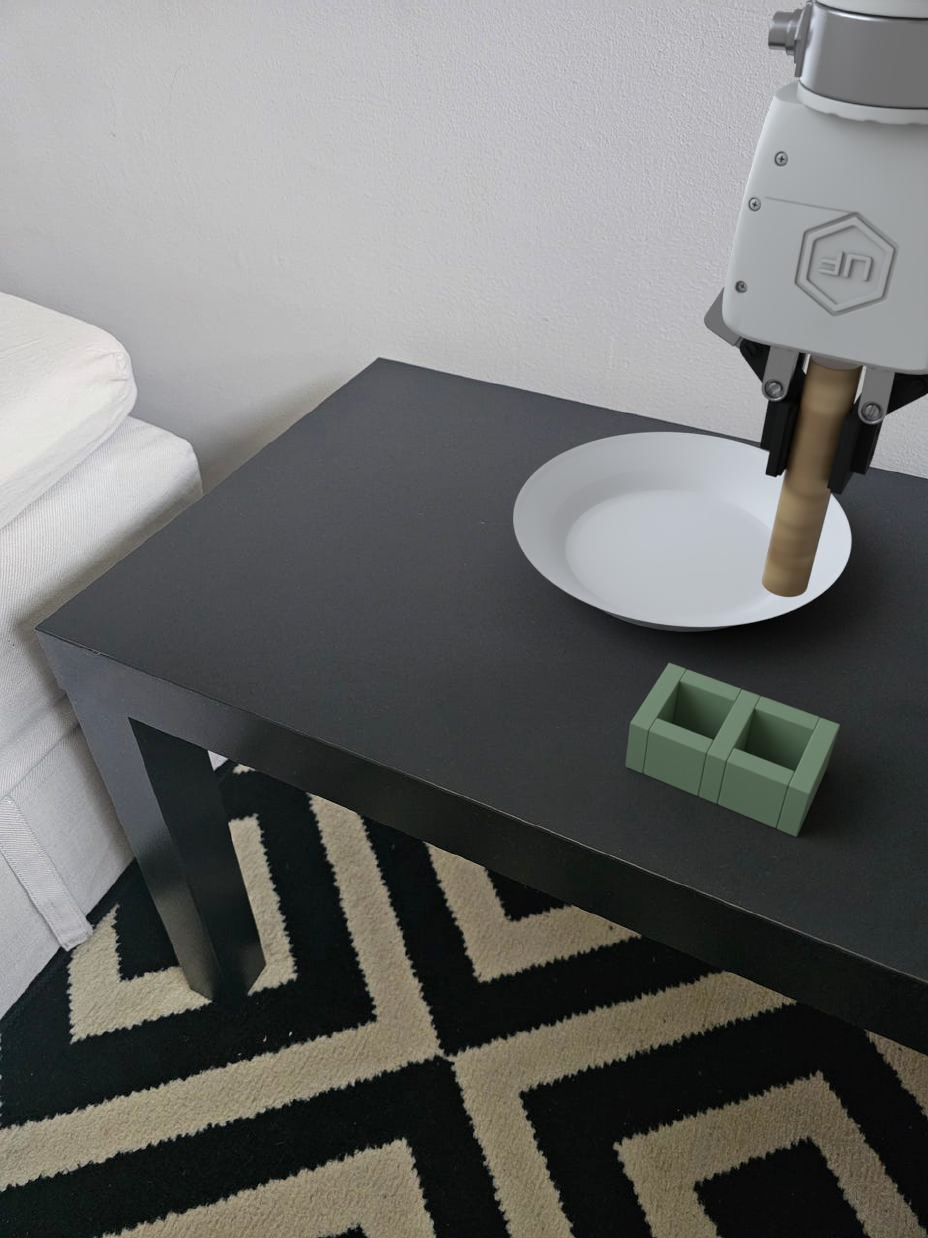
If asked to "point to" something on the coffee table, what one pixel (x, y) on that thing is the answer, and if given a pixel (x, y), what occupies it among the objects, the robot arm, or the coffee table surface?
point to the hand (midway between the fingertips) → (811, 468)
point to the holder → (731, 747)
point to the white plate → (666, 530)
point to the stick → (809, 474)
